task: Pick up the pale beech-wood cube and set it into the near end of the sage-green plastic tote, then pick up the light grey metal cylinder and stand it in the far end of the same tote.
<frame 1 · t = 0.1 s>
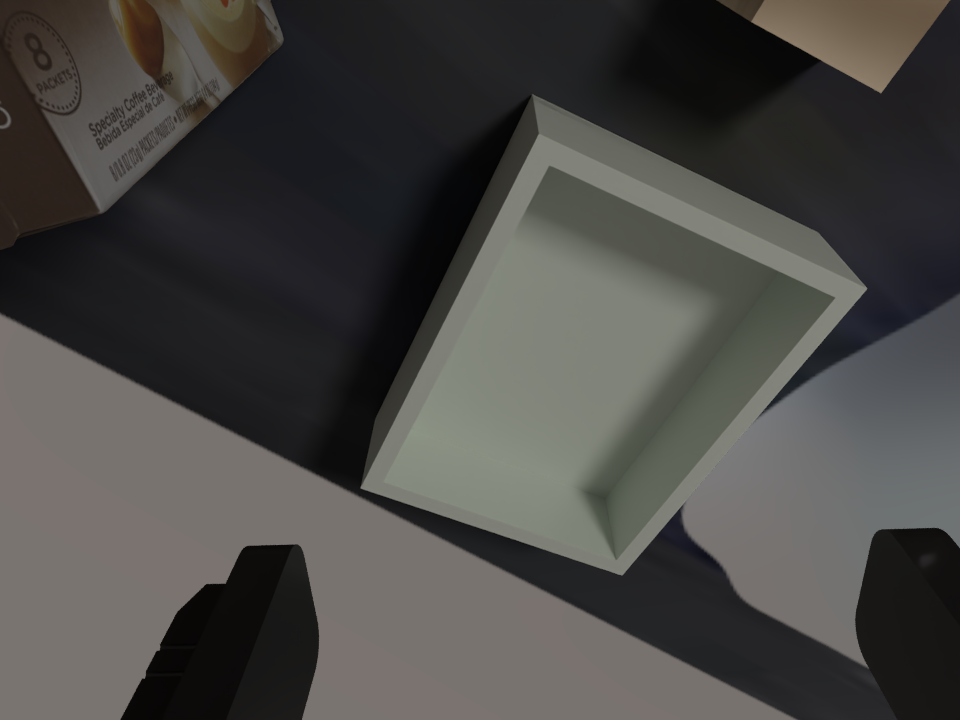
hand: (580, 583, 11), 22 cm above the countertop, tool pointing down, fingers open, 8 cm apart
tote: (577, 333, 34), on the countertop
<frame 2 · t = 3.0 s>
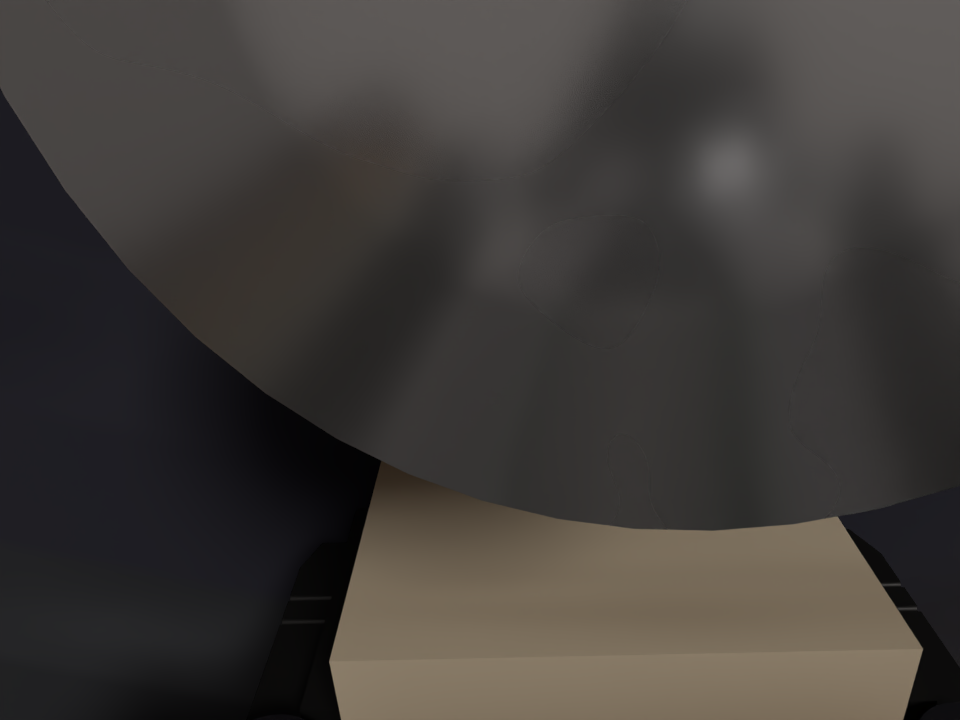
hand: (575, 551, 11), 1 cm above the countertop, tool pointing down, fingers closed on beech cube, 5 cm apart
beech cube: (571, 519, 12), on the countertop, touching gripper
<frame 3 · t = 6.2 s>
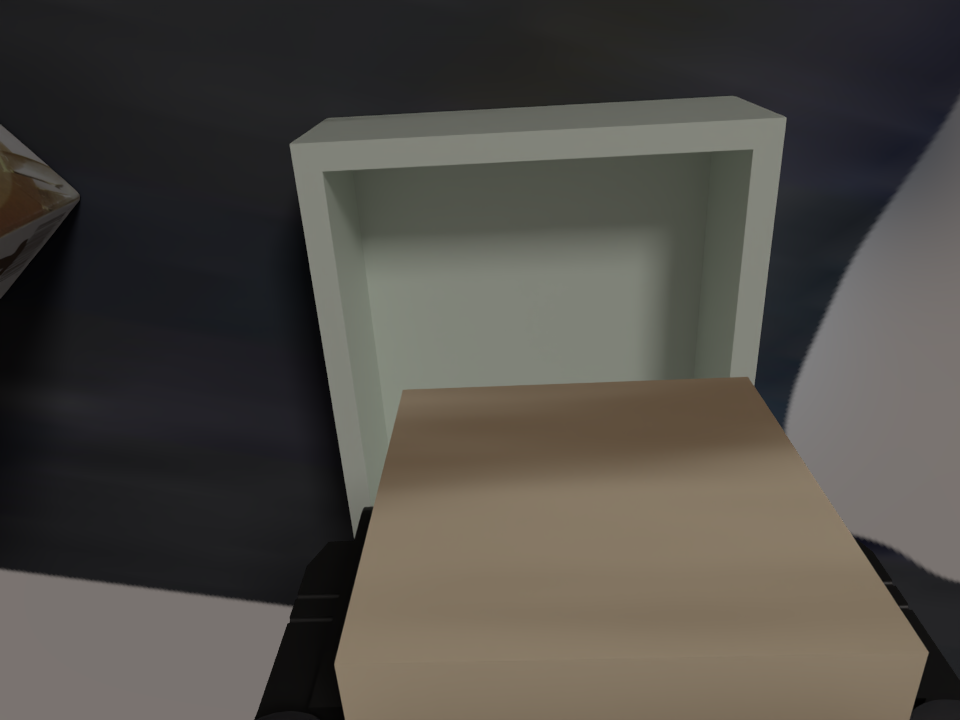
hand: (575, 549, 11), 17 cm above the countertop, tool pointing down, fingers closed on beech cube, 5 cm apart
beech cube: (573, 521, 12), point 16 cm above the countertop, touching gripper
tote: (534, 345, 29), on the countertop
when the fingers open (4 cm above the countertop, at t = 9.0 s): beech cube drops 2 cm, resting on tote.
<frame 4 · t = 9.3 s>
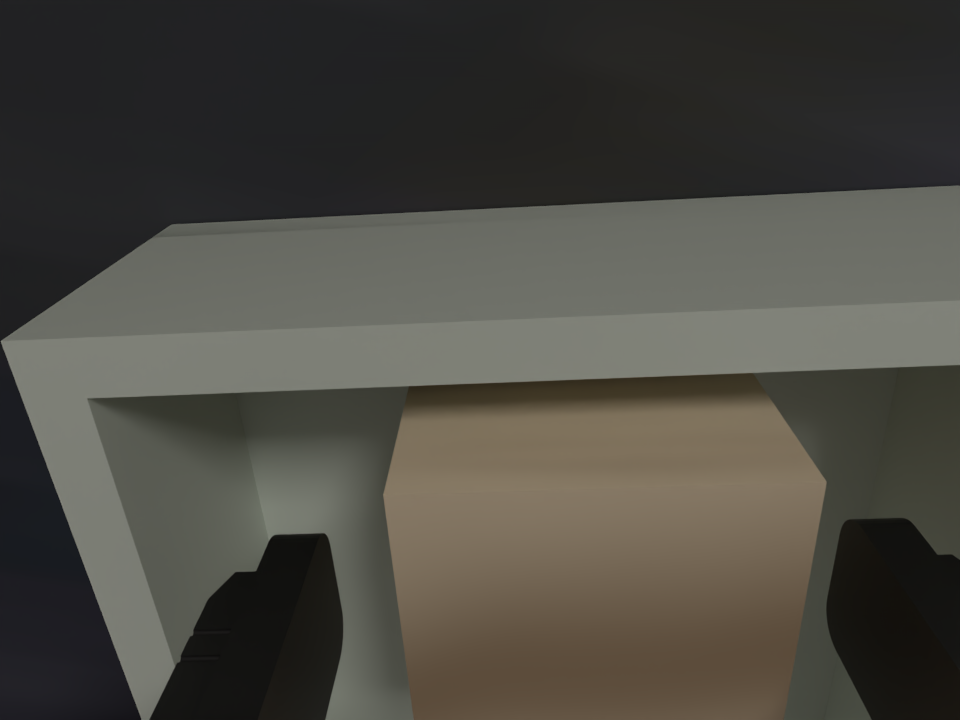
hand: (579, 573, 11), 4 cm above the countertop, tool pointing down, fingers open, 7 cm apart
beech cube: (566, 440, 14), point 1 cm above the countertop, touching tote
tote: (559, 592, 17), on the countertop
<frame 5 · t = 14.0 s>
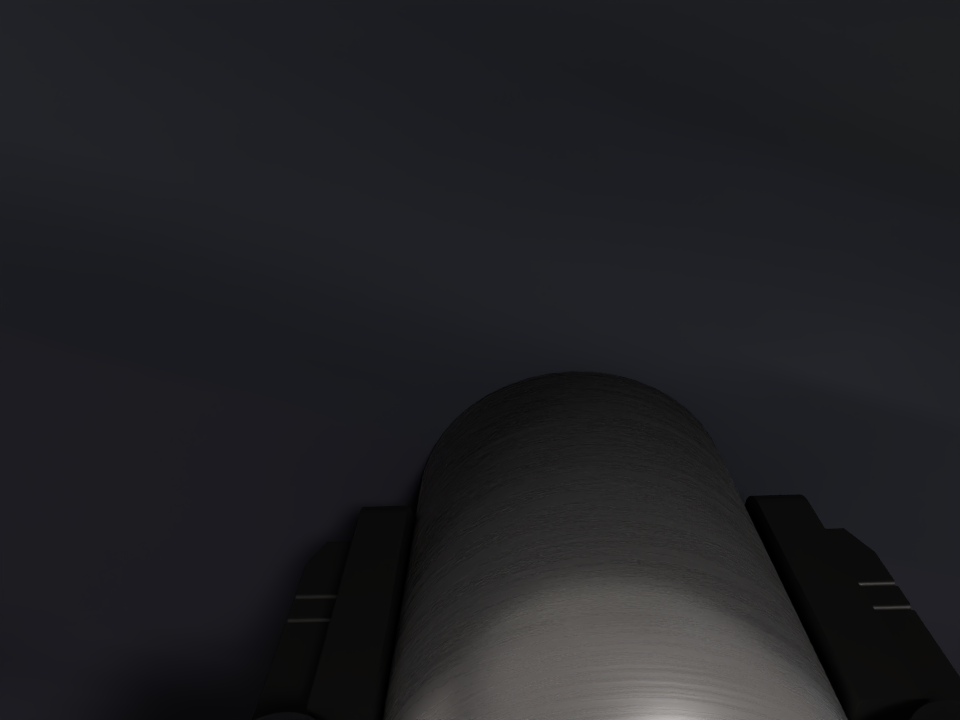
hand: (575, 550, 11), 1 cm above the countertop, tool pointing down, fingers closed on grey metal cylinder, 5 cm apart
grey metal cylinder: (571, 507, 12), on the countertop, touching gripper
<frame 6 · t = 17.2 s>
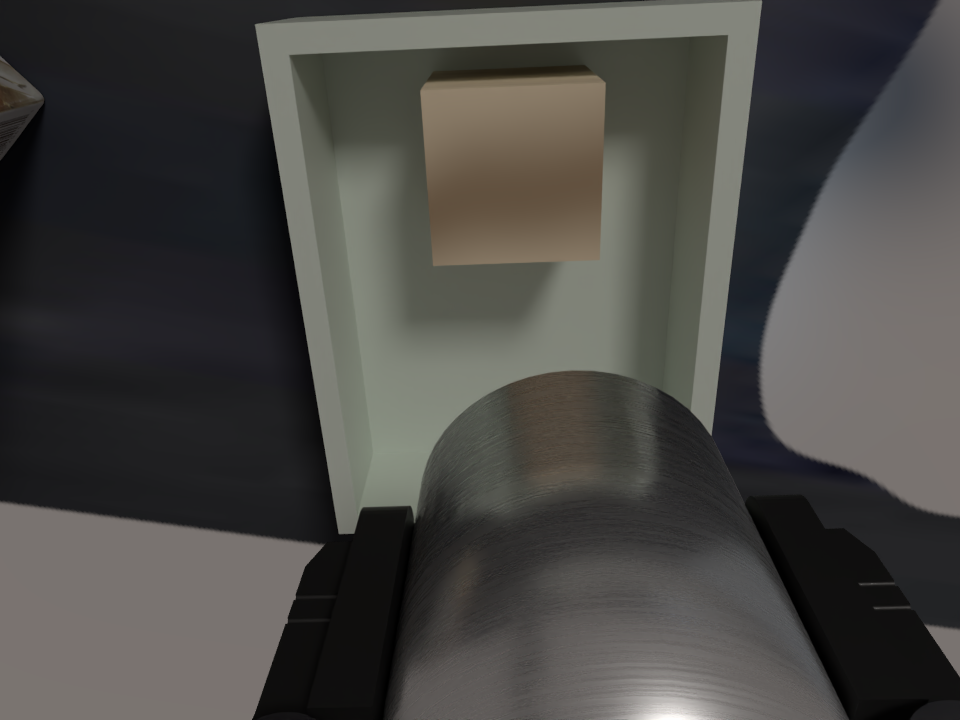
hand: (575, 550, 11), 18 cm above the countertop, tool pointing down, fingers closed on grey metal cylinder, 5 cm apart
beech cube: (510, 145, 26), point 1 cm above the countertop, touching tote
tote: (509, 262, 28), on the countertop
grey metal cylinder: (571, 506, 12), point 17 cm above the countertop, touching gripper
when the fingers open (4 cm above the countertop, at t = 20.7 s): grey metal cylinder drops 2 cm, resting on tote.
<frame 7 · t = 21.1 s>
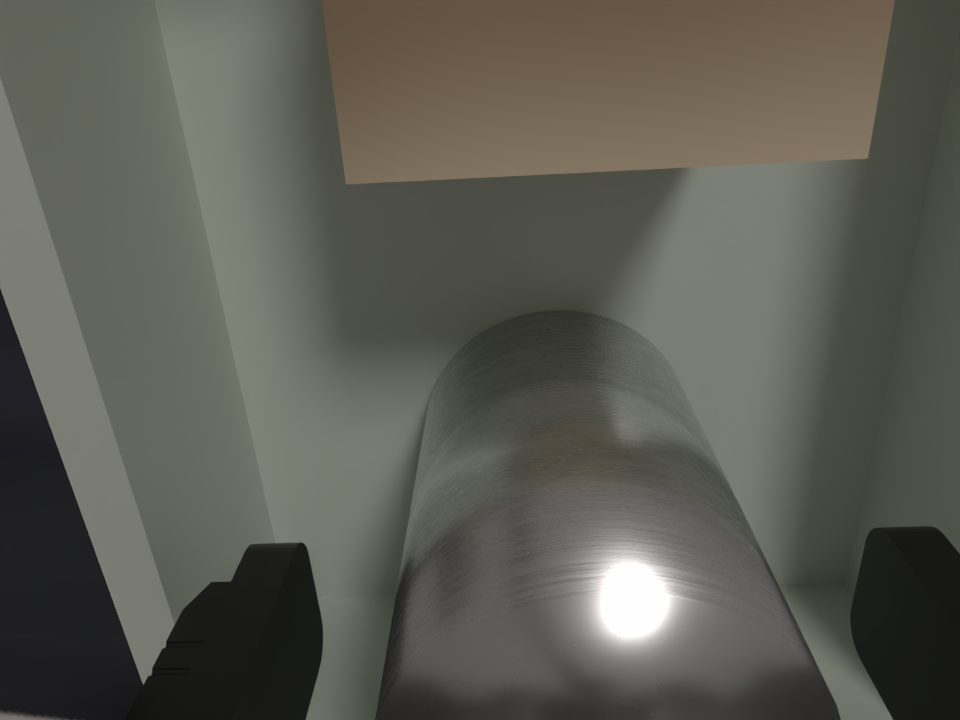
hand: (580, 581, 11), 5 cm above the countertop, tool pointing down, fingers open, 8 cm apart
tote: (554, 217, 13), on the countertop
grey metal cylinder: (555, 430, 14), point 1 cm above the countertop, touching tote
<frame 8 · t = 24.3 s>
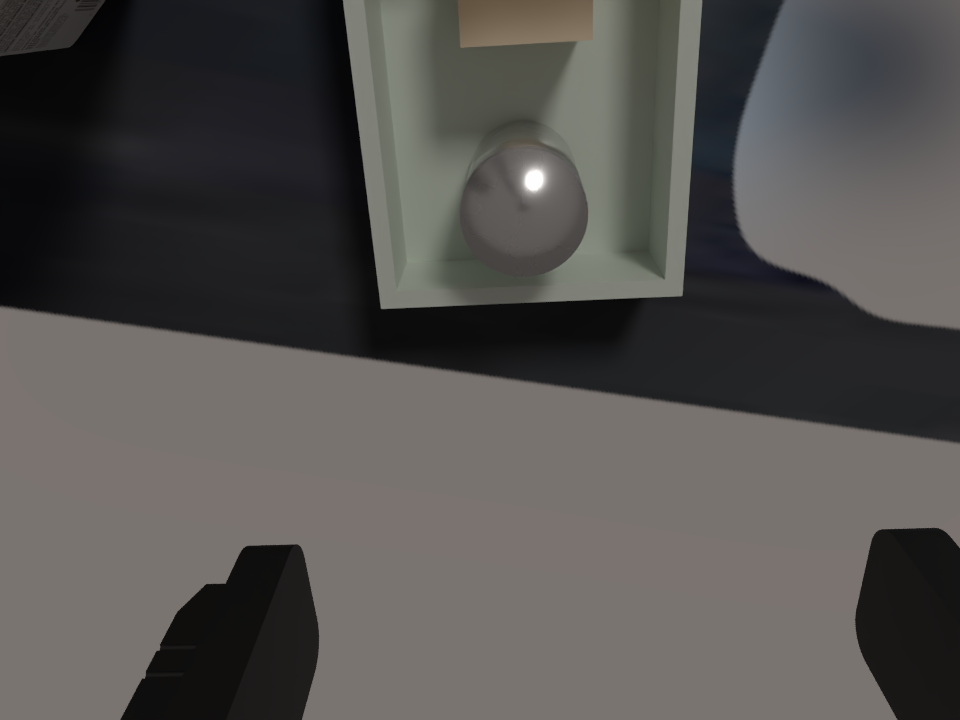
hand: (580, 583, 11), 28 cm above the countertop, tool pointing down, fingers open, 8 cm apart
tote: (521, 84, 34), on the countertop
grey metal cylinder: (522, 175, 35), point 1 cm above the countertop, touching tote
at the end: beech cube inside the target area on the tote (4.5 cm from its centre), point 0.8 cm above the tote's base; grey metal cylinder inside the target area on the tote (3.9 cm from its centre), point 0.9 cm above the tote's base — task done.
